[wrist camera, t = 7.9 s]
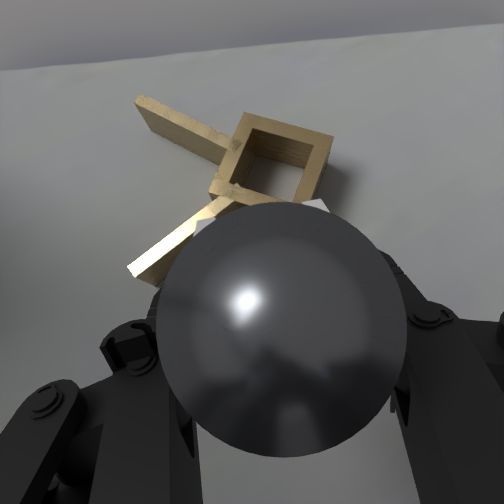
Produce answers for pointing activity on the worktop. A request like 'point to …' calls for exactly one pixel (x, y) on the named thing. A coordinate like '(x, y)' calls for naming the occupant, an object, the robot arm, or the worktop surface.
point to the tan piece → (229, 169)
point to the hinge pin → (281, 329)
